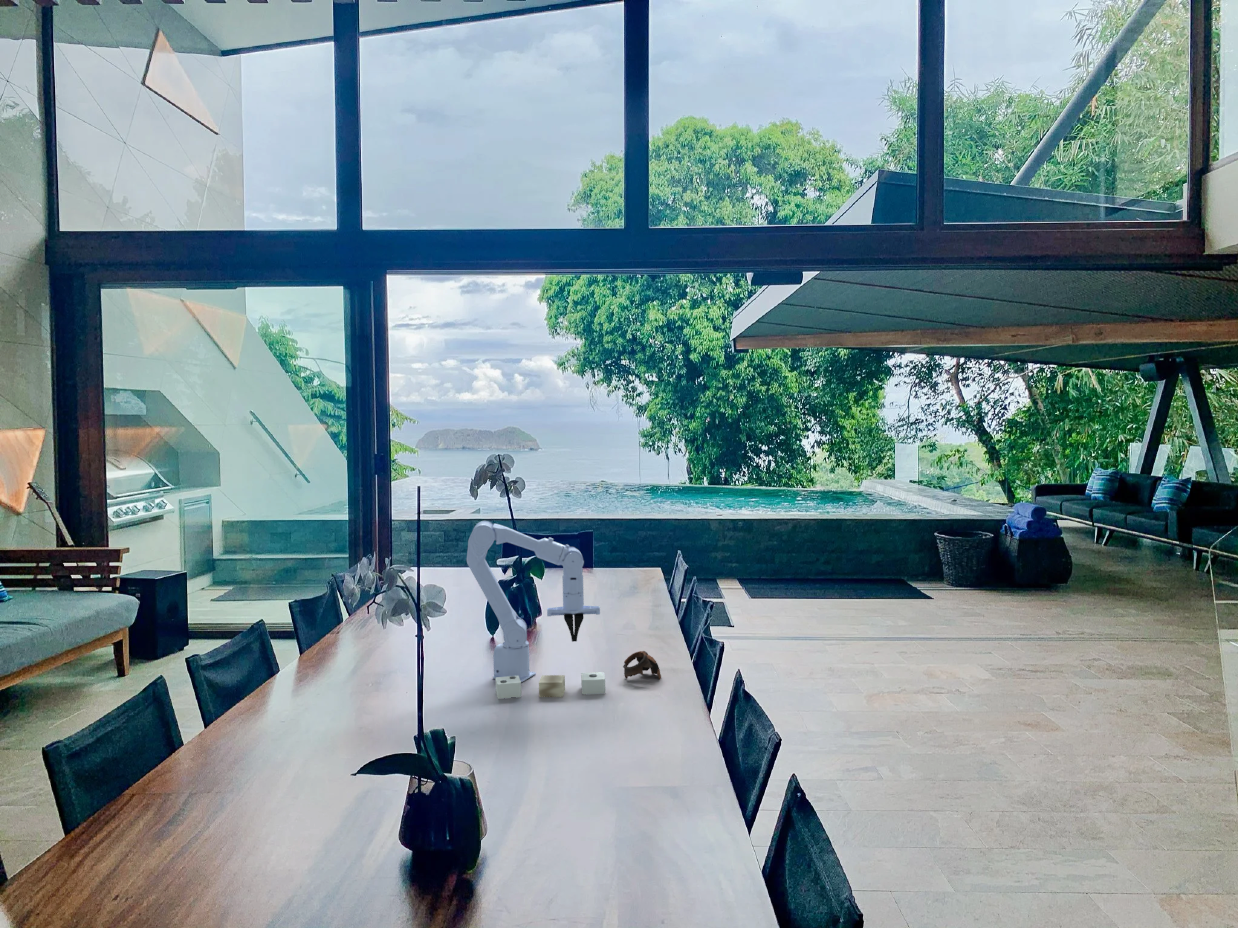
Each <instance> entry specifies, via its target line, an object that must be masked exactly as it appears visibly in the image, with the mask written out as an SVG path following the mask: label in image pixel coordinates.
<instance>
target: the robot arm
mask: <svg viewBox="0 0 1238 928" xmlns="http://www.w3.org/2000/svg"><path fill="white" fill-rule="evenodd" d="M494 541H496V542H494ZM494 543H495V544H496V545H500V544H501V545H502V544H504V543H508V544H511V545H514V546H517V547H521V548H523V549H526V550H530V551H532V552H534V554H535V556H536V558H538V559H540V560H543V561H545V562H548V563H551V564H554V565H557V566H562V567H563V568H562V574H563V575H562V577H561V578H562V606H556V607H547V608H546V611H547V613H546V614H547V616H546V617H555V616H563V619H564V621H565V624H566V625H567V627H568V631H569V633H570V638H571V642H572V643H573V642H578V636H579V635H578V634H579V631H580V628H581V625H582V623H583V620H584V615H600V614H601V609H600V608H601V607H600V605H585V603H584V602H585V601H584V575H583V570H584V569H583V567H584V565H585V560H584V557H583V554H582V553H581V551H580V550H579V549H578V548H576V547H575V546H570V545H569V544H568V543H567V544H562V543H560V542H557V541H554V538H552V537H548V538H546V537H544V538H541V539H536V538H534V537H532V536H530V535H526V534H525V533H522V532H520V531H517V530H515V529H512V528H510V527H508V526H505V525H502V524H499V523H492V522H491V521H488V520H482V521H479V522H477V523H476V524H475V526H474V527H473V529H472V531H471V533H470V536H469V538H468V540H467V553H466V563H467V566H468V567H469V569H470V571H471V572H472V575H473V577H474V578H475V580H476V582H477V584H478V586H479V587H480V589H481V591H482V593H483V595H484V597H485V598H486V600H487V602H488V603H489V605H490V607H491V609H492V611H493V612H494V614H495V616H496V618H497V620H498V623H499V626H500V629H501V630H502V633H503V642H502V643H499V644H497V645H496V646H495V647H494V651H493V657H492V658H493V660H492V661H493V676H492V679H494V680H496V677H507V676H519V678H520V681H521V683H523V682H525V681H526V680H528V679H529V678H532V677H533V676H535V675H536V673H537V672H535V671H530V669H531V667H530V645H529V644H530V643H529V640H527V639H528V634H527V633H528V632H527V631H528V625H527V623H526V621H525V620H524V619H523V618H521V617H519V615H518V614H517V612H516V610H514V608H513V607H512V605H511V604H510V602H509V600H508V598H507V596H506V594H505V592H504V590H503V589H502V587H501V586H500V584H499V581H498V580H497V578H496V576H495V574H494V573H493V571H492V569H491V567H490V566H489V564H488V562H487V559H486V557H487V555H488V550H489V549H490V548H491V547H492V546H493V544H494Z"/></svg>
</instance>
